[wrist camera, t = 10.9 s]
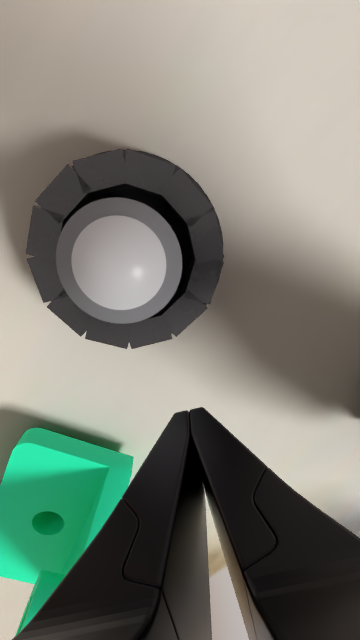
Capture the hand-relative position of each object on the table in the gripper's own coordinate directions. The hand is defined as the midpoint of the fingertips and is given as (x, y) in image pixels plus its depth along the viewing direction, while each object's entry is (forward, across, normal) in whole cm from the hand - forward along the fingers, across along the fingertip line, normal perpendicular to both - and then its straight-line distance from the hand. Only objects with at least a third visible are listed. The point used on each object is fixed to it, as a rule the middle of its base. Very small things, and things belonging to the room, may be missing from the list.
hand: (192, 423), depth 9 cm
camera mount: (+12, +12, +12) cm, 21 cm away
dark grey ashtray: (+12, +2, -4) cm, 12 cm away
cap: (+11, +2, -4) cm, 12 cm away
